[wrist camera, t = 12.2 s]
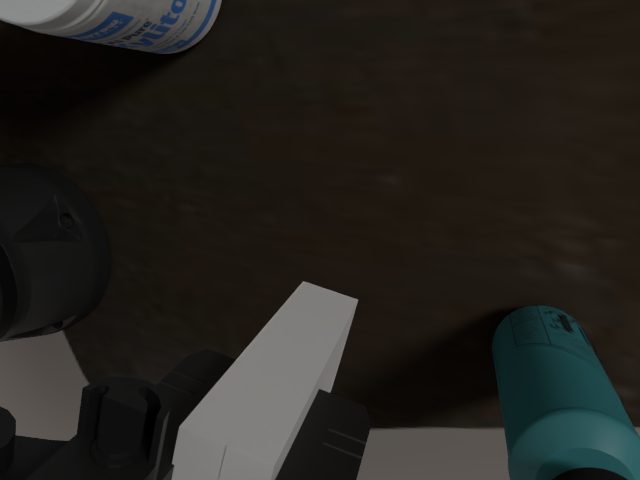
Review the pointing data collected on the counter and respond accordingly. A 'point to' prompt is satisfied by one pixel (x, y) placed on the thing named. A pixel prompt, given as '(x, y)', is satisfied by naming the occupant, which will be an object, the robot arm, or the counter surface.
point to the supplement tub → (118, 21)
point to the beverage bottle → (559, 402)
